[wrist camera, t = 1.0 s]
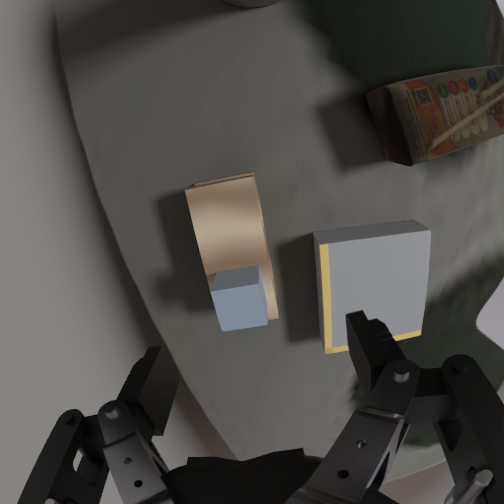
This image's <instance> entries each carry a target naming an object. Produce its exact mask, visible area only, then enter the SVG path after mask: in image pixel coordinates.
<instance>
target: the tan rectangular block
mask: <svg viewBox="0 0 504 504" xmlns="http://www.w3.org/2000/svg"><path fill="white" fill-rule="evenodd" d="M185 193H186V197H187V202H188V206H189V210H190V214H191V218H192V222H193V227H194V231H195V235H196V239H197V243H198V247H199V250H200V254H201V258H202V262H203V266H204V270H205V273H206V277H207V281H208V285H209V288H210V291H211V288H212V285H213V282H214V279H215V276H216V273H217V272H220V271H225V270H231V269H237V268H242V267H248V266H254V265H259V266H260V271H261V276H262V280H263V285H264V289H265V294H266V299H267V316H268V320H270V319H277V318H279V317H278V307H277V295H276V289H275V283H274V278H273V272H272V267H271V261H270V255H269V250H268V244H267V239H266V233H265V228H264V223H263V217H262V212H261V206H260V201H259V196H258V190H257V185H256V180H255V175H254V172H250V173H245V174H239V175H234V176H229V177H224V178H219V179H214V180H209V181H205V182H200V183H196V184H195V186H193V187H190V188H188V189H186V190H185ZM211 296H212V295H211ZM213 303H214V302H213ZM215 310H216V309H215ZM216 313H217V312H216ZM217 317H218V315H217ZM218 320H219V319H218ZM219 324H220V322H219ZM220 326H221V325H220Z"/></svg>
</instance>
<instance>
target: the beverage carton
mask: <svg viewBox="0 0 504 504" xmlns="http://www.w3.org/2000/svg"><path fill="white" fill-rule="evenodd" d="M365 98H366V100H367V103H368V106H369V108H370V111H371V113H372V116H373V119H374V122H375V125H376V128H377V132H378V135H379V137H380V140H381V144H382V147H383V150H384V154H385V157H386V159H387V160H389V161H392V162H395V163H398V164H402V165H406V166H412V165H414V164H418V163H422V162H425V161H428V160H431V159H434V158H437V157H440V156H443V155H446V154H449V153H452V152H454V151H457V150H460V149H463V148H465V147H468V146H471V145H474V144H477V143H480V142H483V141H486V140H488V139H491V138H494V137H497V136H500V135H503V134H504V64H503V65H495V66H485V67H477V68H468V69H460V70H453V71H448V72H442V73H437V74H432V75H426V76H421V77H416V78H412V79H407V80H403V81H399V82H395V83H392V84H389V85H386V86H383V87H380V88H377V89H375V90H372V91H370V92H367V93H365Z"/></svg>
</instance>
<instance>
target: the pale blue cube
mask: <svg viewBox="0 0 504 504" xmlns="http://www.w3.org/2000/svg"><path fill="white" fill-rule="evenodd" d="M210 292H211V295H212V299H213V302H214V306H215V309H216V312H217V315H218V319H219V322H220V325H221V328H222V331H229V330H236V329H243V328H250V327H257V326H263V325H268V316H267V299H266V294H265V289H264V285H263V280H262V276H261V271H260V266H259V265H254V266H248V267H242V268H237V269H231V270H225V271H220V272H217V273H216V276H215V279H214V282H213V285H212V288H211V291H210Z"/></svg>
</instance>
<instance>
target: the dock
mask: <svg viewBox="0 0 504 504" xmlns="http://www.w3.org/2000/svg"><path fill="white" fill-rule="evenodd" d="M313 240H314V251H315V264H316V277H317V292H318V309H319V329H320V337H321V340H322V344H323V348H324V352H325V354H329V353H335V352H341V351H347V350H349V349H348V342H347V329H346V318H345V315H346V314H347V313H351V312H355V311H360V310H363V311H364V313H365V315H366V317H367V318H368V320H371V319H375V318H377V319H379V320H380V321H382V322H383V323H385V324H386V326H387V328H388V329H389V331H390V332H391V334H392V336H393V338H394V339H395V341H397V340H402V339H406V338H410V337H415V336H419V335H421V328H422V322H423V315H424V308H425V300H426V292H427V283H428V272H429V259H430V242H431V230H430V229H429V228H427V227H425V226H424V225H422V224H420V223H419V222H417V221H415V220H409V221H401V222H392V223H384V224H376V225H368V226H360V227H351V228H343V229H335V230H328V231H320V232H313Z"/></svg>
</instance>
